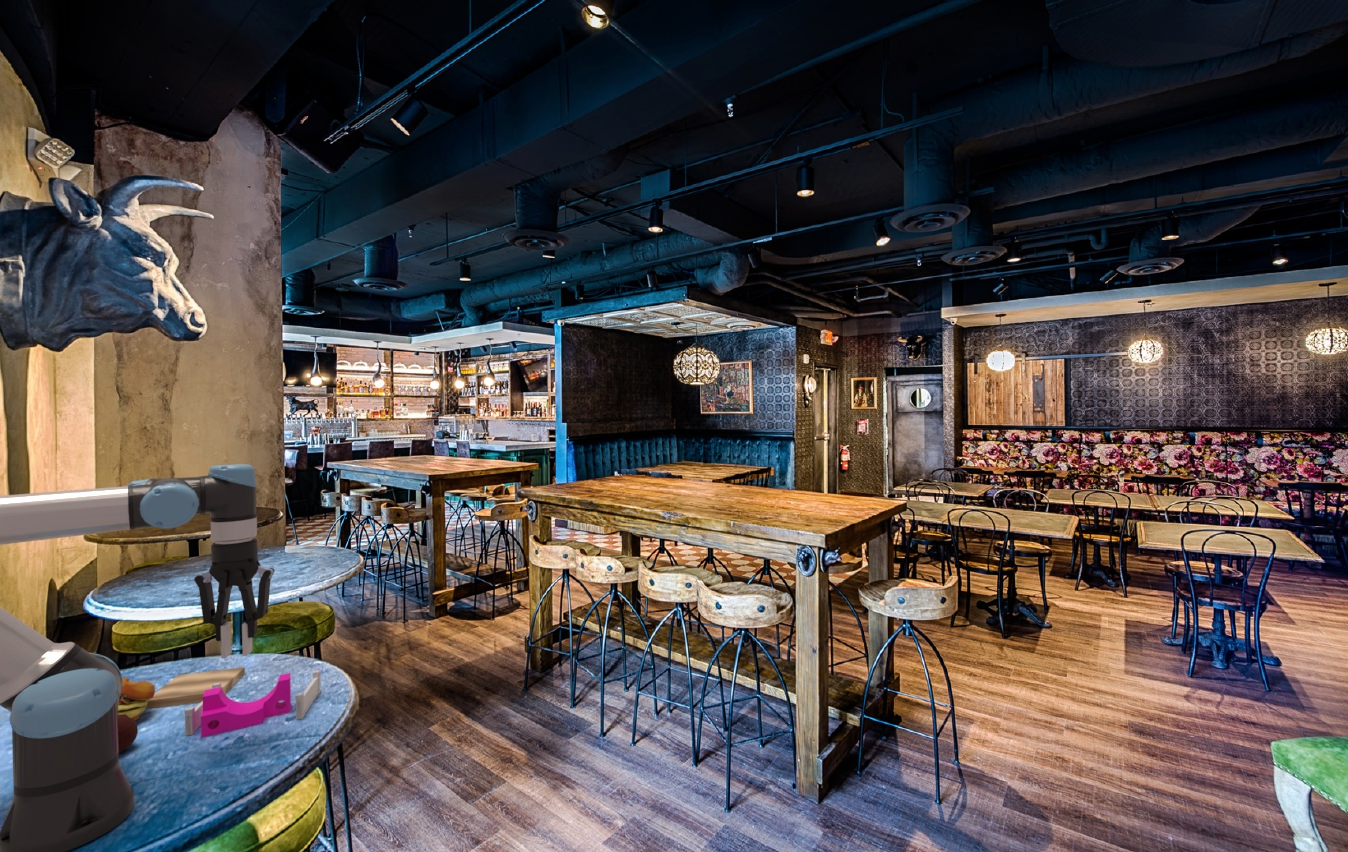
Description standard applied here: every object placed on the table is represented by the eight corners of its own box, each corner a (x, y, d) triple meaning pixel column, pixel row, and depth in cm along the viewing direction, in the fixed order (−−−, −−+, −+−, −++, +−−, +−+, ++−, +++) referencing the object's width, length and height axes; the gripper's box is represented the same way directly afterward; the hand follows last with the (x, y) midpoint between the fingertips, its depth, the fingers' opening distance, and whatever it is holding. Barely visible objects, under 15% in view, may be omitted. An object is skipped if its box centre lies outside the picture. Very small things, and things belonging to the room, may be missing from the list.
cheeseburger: (62, 726, 119) (86, 674, 122) (123, 724, 128) (144, 675, 131) (89, 733, 115) (113, 678, 119) (150, 730, 124) (170, 680, 128)
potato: (87, 769, 107) (86, 731, 107) (83, 754, 112) (82, 718, 112) (141, 751, 112) (140, 715, 112) (135, 738, 117) (134, 703, 117)
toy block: (201, 738, 117) (200, 701, 117) (206, 724, 122) (205, 689, 122) (289, 717, 125) (288, 683, 125) (291, 705, 130) (290, 672, 130)
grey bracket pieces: (302, 718, 124) (301, 694, 124) (185, 735, 118) (184, 710, 118) (320, 691, 136) (320, 669, 136) (215, 705, 130) (214, 683, 130)
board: (219, 700, 133) (218, 691, 133) (145, 709, 129) (144, 700, 129) (244, 674, 146) (244, 666, 146) (178, 682, 142) (178, 674, 142)
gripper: (286, 533, 123) (288, 642, 124) (197, 539, 119) (199, 652, 119) (273, 540, 116) (275, 656, 116) (177, 546, 112) (180, 667, 112)
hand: (237, 654), depth 118 cm, fingers open, 3 cm apart
